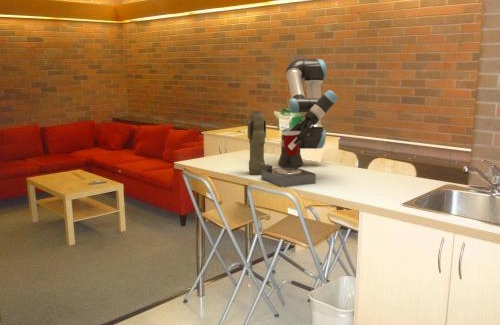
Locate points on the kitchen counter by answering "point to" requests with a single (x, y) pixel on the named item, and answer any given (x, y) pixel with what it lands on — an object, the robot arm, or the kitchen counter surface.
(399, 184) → the kitchen counter surface
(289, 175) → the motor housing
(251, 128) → the brown tall upright piece
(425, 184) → the kitchen counter surface
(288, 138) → the plastic cup
